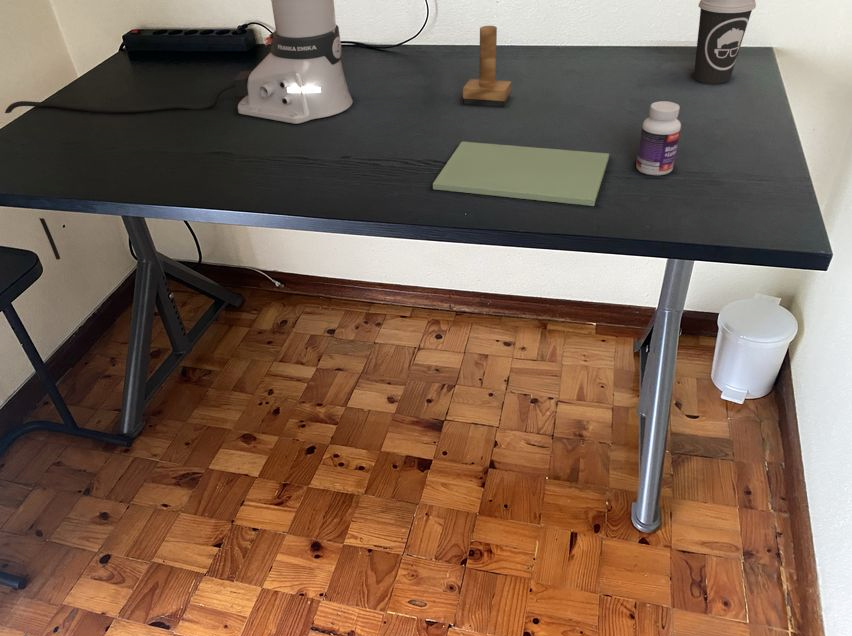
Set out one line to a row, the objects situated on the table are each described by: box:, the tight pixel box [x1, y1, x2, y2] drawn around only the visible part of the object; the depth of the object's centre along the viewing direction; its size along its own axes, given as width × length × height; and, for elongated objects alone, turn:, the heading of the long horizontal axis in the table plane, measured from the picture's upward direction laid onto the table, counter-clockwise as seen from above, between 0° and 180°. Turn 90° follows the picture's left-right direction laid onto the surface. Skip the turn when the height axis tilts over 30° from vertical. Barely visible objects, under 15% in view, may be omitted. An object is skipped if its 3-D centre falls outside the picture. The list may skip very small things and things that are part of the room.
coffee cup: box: [693, 0, 757, 85], centre depth 135 cm, size 10×10×15 cm
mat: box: [432, 141, 610, 207], centre depth 113 cm, size 24×16×1 cm, turn 70°
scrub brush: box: [462, 25, 512, 108], centre depth 134 cm, size 8×5×13 cm, turn 70°
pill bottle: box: [635, 100, 682, 176], centre depth 108 cm, size 5×5×10 cm
